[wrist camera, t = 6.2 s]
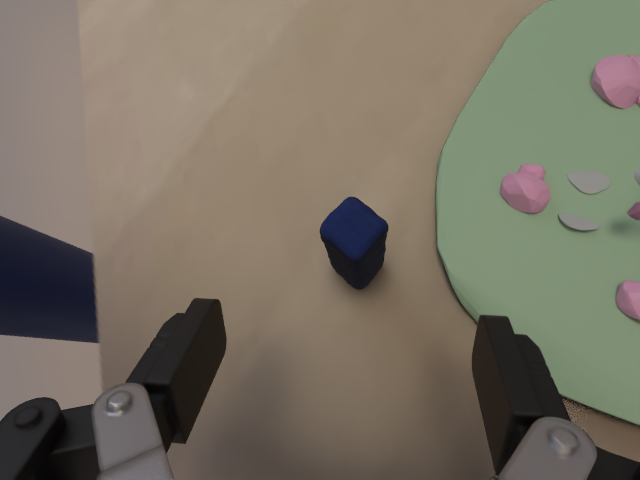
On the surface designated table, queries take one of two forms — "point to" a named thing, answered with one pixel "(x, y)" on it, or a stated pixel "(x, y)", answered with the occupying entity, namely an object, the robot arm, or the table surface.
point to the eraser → (355, 241)
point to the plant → (555, 197)
